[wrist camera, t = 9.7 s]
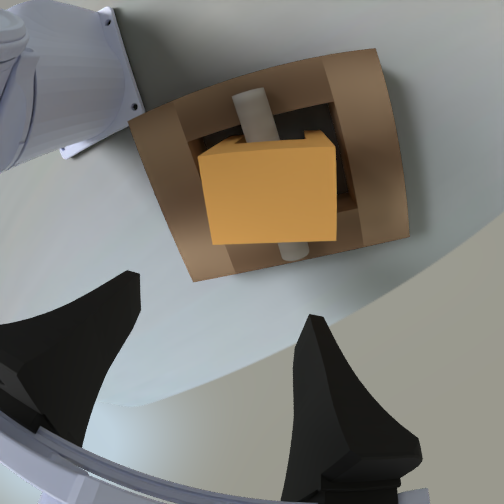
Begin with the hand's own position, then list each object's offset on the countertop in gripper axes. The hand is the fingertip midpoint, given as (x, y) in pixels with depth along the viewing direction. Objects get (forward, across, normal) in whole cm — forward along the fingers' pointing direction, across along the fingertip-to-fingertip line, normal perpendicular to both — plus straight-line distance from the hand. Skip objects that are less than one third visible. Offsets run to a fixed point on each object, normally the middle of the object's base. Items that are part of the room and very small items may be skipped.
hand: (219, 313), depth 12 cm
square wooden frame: (+9, -1, -4) cm, 10 cm away
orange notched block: (+9, -1, -4) cm, 10 cm away
